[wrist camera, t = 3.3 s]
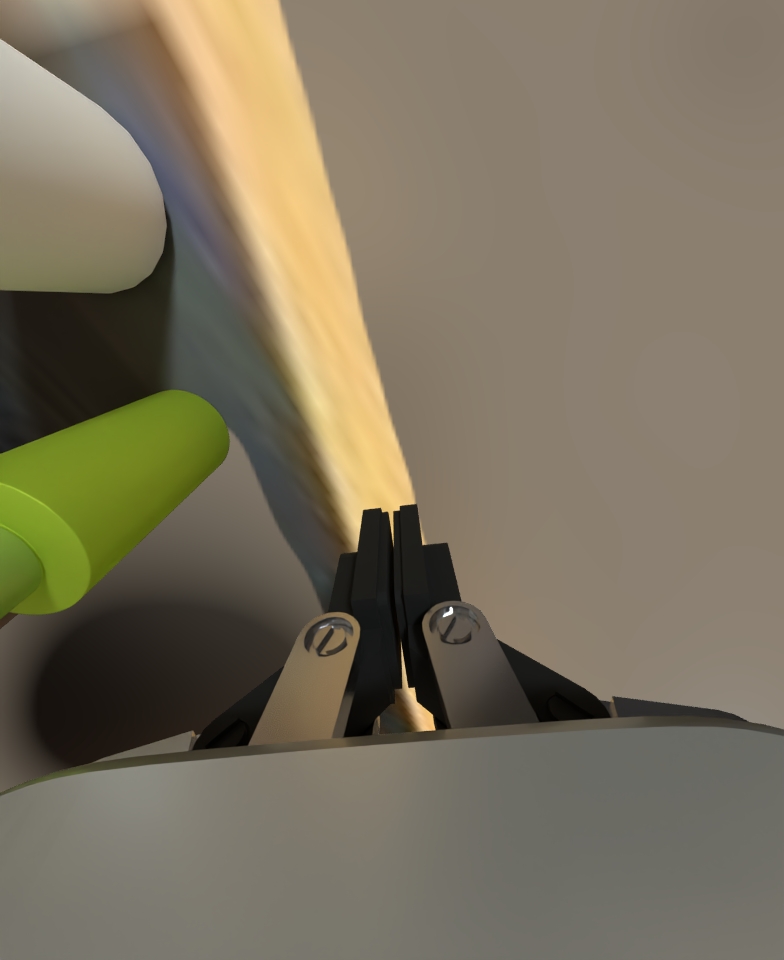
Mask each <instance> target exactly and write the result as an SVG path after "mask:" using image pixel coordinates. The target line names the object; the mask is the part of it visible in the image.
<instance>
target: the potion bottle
mask: <svg viewBox="0 0 784 960" xmlns="http://www.w3.org/2000/svg"><path fill="white" fill-rule="evenodd" d="M166 228H167V223H166V216H165V208H164V201H163V195H162V192H161V190H160V187H159V185H158V182H157V180H156V177H155V175H154V172H153V169H152V167H151V164H150V163H149V161H148V160H147V158H146V157H145V155H144V154H143V152H142V151H141V150H140V148H139V147H138V145H137V144H136V142H135V141H134V139H133V138H132V136H131V135H130V134H129V133H128V131H127V130H125V129H124V128H123V127H122V126H121V125H120V124H119V123H118V122H117V121H116V120H114V119H113V118H112V117H111V116H110V115H109V114H108V113H107V112H106V111H105V110H103V109H102V108H101V107H100V106H99V105H97V104H96V103H94V102H93V101H91V100H90V99H88V98H87V97H85V96H84V95H82V94H81V93H79V92H78V91H76V90H75V89H74V88H72V87H71V86H69V85H68V84H66V83H65V82H63V81H62V80H60V79H59V78H57V77H56V76H54V75H53V74H51V73H50V72H48V71H47V70H45V69H44V68H43V67H41V66H40V65H38V64H37V63H35V62H34V61H32V60H31V59H29V58H28V57H26V56H25V55H23V54H22V53H20V52H19V51H17V50H16V49H14V48H13V47H12V46H10V45H9V44H7V43H6V42H4V41H3V40H1V39H0V290H14V291H46V292H78V293H110V294H111V293H114V292H118V291H122V290H126V289H129V288H133V287H135V286H136V285H138V284H139V283H140V282H141V281H143V280H144V279H145V278H146V277H148V276H149V275H150V274H151V273H152V272H153V270H154V268H155V266H156V264H157V263H158V261H159V259H160V257H161V255H162V253H163V248H164V242H165V235H166Z"/></svg>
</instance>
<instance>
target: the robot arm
mask: <svg viewBox="0 0 784 960" xmlns="http://www.w3.org/2000/svg"><path fill="white" fill-rule="evenodd" d="M393 522H394V547H393V540H392V533H391V526H390V520H389V513H388V512H382V510H381V508H376V509H367V510H363V515H362V522H361V529H360V537H359V544H358V551H357V552H353V553H344V554H341V555H340V558H339V563H338V568H337V573H336V578H335V583H334V588H333V592H332V597H331V602H330V607H329V612H328V613H327V614H324V615H321V616H318V617H317V618H315V619H313V620H312V621H310V622H309V623H308V624H307V625H306V626H305V627H304V628H303V629H302V631H301V633H300V634H299V636H298V638H297V640H296V642H295V644H294V647H293V649H292V651H291V653H290V656H289V658H288V660H287V662H286V664H285V666H283V667H282V668H281V669H279V670H278V671H277V672H275V673H274V674H273V675H272V676H270V677H269V678H268V679H267V680H265V681H264V682H263V683H261V684H260V685H259V686H257V687H256V688H255V689H254V690H252V691H251V692H250V693H248V694H247V695H246V696H244V697H243V698H242V699H241V700H239V701H238V702H237V703H235V704H234V705H233V706H232V707H230V708H229V709H228V710H226V711H225V712H224V713H222V714H221V715H220V716H219V717H217V718H216V719H215V720H214V721H213V722H211V724H209V725H208V726H207V727H206V728H205V729H204V730H203V732H202V733H201V734H199V735H195V733H194V732H193V731H190V732H187V733H183V734H180V735H177V736H174V737H170V738H167V739H164V740H161V741H158V742H155V743H151V744H148V745H144V746H141V747H138V748H135V749H131V750H129V751H125V752H122V753H119V754H115V755H112V756H109V757H106V758H102V759H100V760H97V761H96V762H93V763H91V764H86V765H82V766H78V767H73V768H69V769H65V770H61V771H57V772H54V773H51V774H48V775H45V776H42V777H39V778H36V779H33V780H30V781H27V782H24V783H22V784H19V785H17V786H14V787H12V788H10V789H8V790H5V791H3V792H1V793H0V960H784V729H780V728H776V727H772V726H768V725H764V724H758V723H752V722H749V721H747V720H745V719H743V718H741V717H739V716H737V715H735V714H732V713H728V712H724V711H720V710H715V709H708V708H699V707H692V706H684V705H677V704H669V703H661V702H653V701H645V700H638V699H630V698H622V697H615V696H612V700H611V702H609V701H601V700H599V699H598V698H597V697H596V696H594V695H593V694H592V693H590V692H589V691H587V690H586V689H585V688H583V687H581V686H579V685H577V684H576V683H574V682H572V681H570V680H569V679H567V678H565V677H563V676H561V675H559V674H558V673H556V672H554V671H553V670H551V669H549V668H547V667H546V666H544V665H542V664H540V663H538V662H537V661H535V660H533V659H531V658H530V657H528V656H526V655H524V654H522V653H521V652H519V651H517V650H515V649H514V648H512V647H510V646H508V645H507V644H505V643H503V642H501V641H499V640H498V639H496V637H495V635H494V633H493V631H492V629H491V627H490V625H489V623H488V621H487V619H486V618H485V616H484V615H483V613H482V612H481V611H480V610H479V609H478V608H476V607H475V606H473V605H471V604H468V603H466V602H462V601H461V597H460V593H459V589H458V585H457V580H456V576H455V572H454V568H453V564H452V560H451V555H450V551H449V547H448V544H447V543H441V544H430V545H422V538H421V530H420V523H419V515H418V507H417V504H413V505H404V506H400V511H393ZM401 643H402V649H403V656H404V662H405V669H406V675H407V681H408V687H409V688H414V687H415V692H416V699H417V702H418V703H419V704H421V705H422V706H423V707H424V708H425V709H427V710H428V711H429V712H430V713H432V714H433V719H434V725H435V729H436V730H434V731H422V732H409V733H396V734H383V735H378V733H379V726H380V718H379V715H380V714H381V713H382V712H383V711H384V710H385V709H386V708H387V707H388V706H389V705H390V704H395V689H402V661H401Z"/></svg>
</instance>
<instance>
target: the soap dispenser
mask: <svg viewBox="0 0 784 960" xmlns="http://www.w3.org/2000/svg"><path fill="white" fill-rule="evenodd" d="M228 450H229V433H228V429H227V426H226V424H225V422H224V420H223V418H222V417H221V415H220V414H219V413H218V411H217V410H216V409H215V408H214V407H213V406H212V405H211V404H210V403H208V402H207V401H206V400H204V399H203V398H201V397H199V396H197V395H195V394H192V393H190V392H186V391H181V390H166V391H161V392H158V393H156V394H153V395H151V396H148V397H146V398H143V399H140V400H138V401H135V402H133V403H130V404H128V405H125V406H123V407H120V408H117V409H115V410H112V411H110V412H107V413H105V414H102V415H99V416H97V417H94V418H92V419H89V420H87V421H84V422H81V423H79V424H76V425H74V426H71V427H69V428H66V429H64V430H61V431H58V432H56V433H53V434H51V435H48V436H46V437H43V438H40V439H38V440H35V441H33V442H30V443H28V444H25V445H22V446H20V447H17V448H15V449H12V450H10V451H7V452H5V453H2V454H0V619H1V618H2V617H4V616H5V615H6V614H7V613H9V612H12V613H17V614H27V615H41V614H50V613H55V612H59V611H62V610H64V609H66V608H69V607H71V606H72V605H74V604H75V603H77V602H78V601H79V600H80V599H81V598H82V597H83V596H84V595H85V594H86V593H87V592H88V591H90V590H91V589H92V588H93V587H94V586H95V585H96V584H97V583H98V582H99V581H100V580H101V579H102V578H103V577H104V576H105V575H106V574H107V573H108V572H109V571H110V570H111V569H112V568H113V567H115V566H116V564H117V563H118V562H120V561H121V560H122V559H123V558H124V557H125V556H126V555H127V554H128V553H129V552H130V551H131V550H132V549H133V548H134V547H135V546H136V545H137V544H138V543H139V542H141V541H142V540H143V539H144V538H145V537H146V536H147V535H148V534H149V533H150V532H151V531H152V530H153V529H154V528H155V527H156V526H157V525H158V524H159V523H160V522H161V521H162V520H163V519H164V518H165V517H167V515H169V514H170V513H171V512H172V511H173V510H174V509H175V508H176V507H177V506H178V505H179V504H180V503H181V502H182V501H183V500H184V499H185V498H186V497H187V496H188V495H189V494H190V493H192V492H193V491H194V490H195V489H196V488H197V487H198V486H199V485H200V484H201V483H202V482H203V481H204V480H205V479H206V478H207V477H208V476H209V475H210V474H211V473H212V472H213V471H214V470H215V469H216V468H217V467H218V466H219V465H221V463H222V462H223V461H224V459H225V458H226V456H227V453H228Z"/></svg>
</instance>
